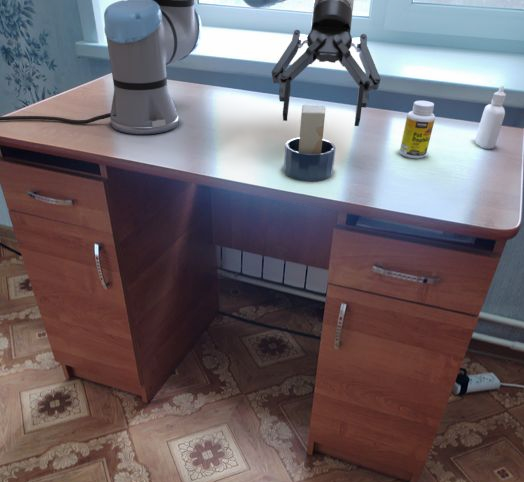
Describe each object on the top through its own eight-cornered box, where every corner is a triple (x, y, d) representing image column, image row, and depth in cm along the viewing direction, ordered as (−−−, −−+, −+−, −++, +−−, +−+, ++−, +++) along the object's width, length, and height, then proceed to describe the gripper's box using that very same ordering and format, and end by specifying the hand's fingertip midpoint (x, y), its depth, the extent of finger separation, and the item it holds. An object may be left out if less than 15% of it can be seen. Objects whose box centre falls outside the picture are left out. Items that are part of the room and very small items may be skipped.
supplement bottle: (406, 160, 105) (417, 107, 98) (395, 150, 109) (405, 99, 102) (430, 158, 106) (443, 106, 99) (418, 149, 110) (430, 98, 103)
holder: (278, 177, 96) (280, 150, 93) (290, 159, 103) (292, 134, 100) (327, 184, 94) (330, 157, 91) (336, 166, 101) (339, 140, 98)
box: (319, 174, 96) (325, 113, 89) (296, 173, 97) (301, 112, 89) (319, 164, 100) (325, 105, 93) (297, 163, 101) (302, 103, 93)
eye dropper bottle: (494, 142, 114) (513, 84, 107) (493, 150, 111) (513, 91, 103) (474, 139, 116) (492, 82, 108) (472, 147, 112) (490, 88, 104)
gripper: (395, 29, 98) (384, 134, 97) (268, 22, 100) (256, 125, 99) (403, 0, 91) (392, 113, 90) (266, -7, 93) (253, 103, 91)
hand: (320, 120), depth 94 cm, fingers open, 13 cm apart
